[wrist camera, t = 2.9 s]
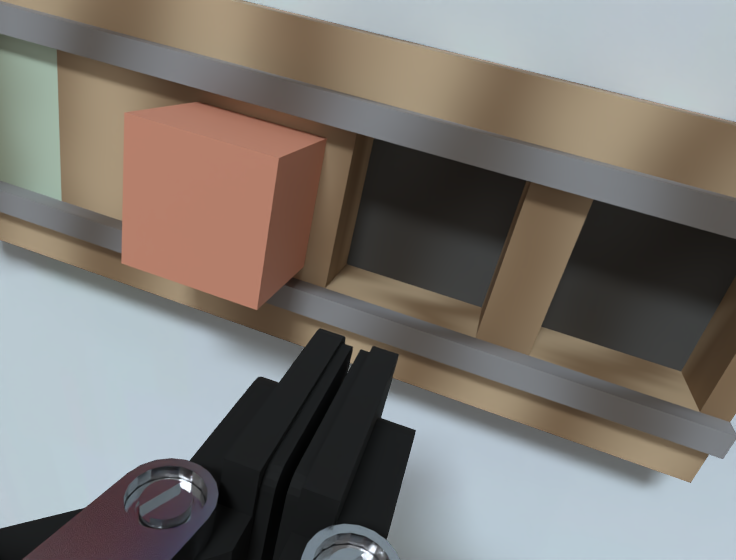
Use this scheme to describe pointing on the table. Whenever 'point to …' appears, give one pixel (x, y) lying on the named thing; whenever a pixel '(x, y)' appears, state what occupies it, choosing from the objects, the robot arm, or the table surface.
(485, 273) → the track
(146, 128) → the block
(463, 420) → the table surface
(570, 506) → the table surface
